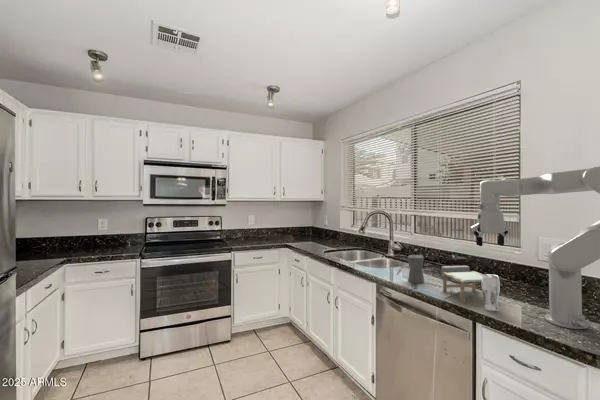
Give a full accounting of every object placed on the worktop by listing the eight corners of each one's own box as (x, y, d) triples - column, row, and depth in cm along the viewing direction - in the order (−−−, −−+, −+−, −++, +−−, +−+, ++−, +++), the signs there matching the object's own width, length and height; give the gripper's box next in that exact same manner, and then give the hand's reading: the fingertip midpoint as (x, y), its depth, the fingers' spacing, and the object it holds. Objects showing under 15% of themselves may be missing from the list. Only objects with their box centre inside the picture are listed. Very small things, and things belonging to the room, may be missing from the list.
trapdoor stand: (497, 301, 139) (496, 279, 139) (461, 302, 138) (461, 281, 138) (474, 290, 156) (474, 270, 156) (443, 291, 155) (442, 272, 155)
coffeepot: (415, 285, 167) (415, 254, 167) (402, 281, 175) (401, 251, 175) (432, 280, 175) (431, 251, 175) (418, 277, 183) (418, 248, 183)
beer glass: (478, 307, 132) (477, 274, 132) (488, 305, 134) (488, 273, 134) (493, 313, 125) (492, 278, 125) (504, 310, 128) (503, 276, 128)
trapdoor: (491, 285, 140) (491, 274, 140) (463, 286, 140) (463, 275, 140) (466, 274, 160) (466, 265, 160) (441, 275, 159) (441, 266, 159)
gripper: (476, 208, 126) (476, 247, 126) (515, 207, 126) (515, 246, 127) (466, 207, 134) (466, 244, 134) (502, 207, 134) (503, 243, 134)
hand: (490, 245), depth 130 cm, fingers open, 9 cm apart
